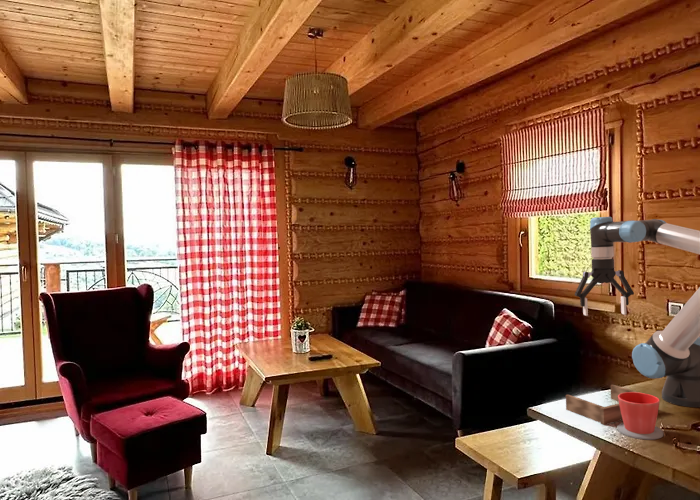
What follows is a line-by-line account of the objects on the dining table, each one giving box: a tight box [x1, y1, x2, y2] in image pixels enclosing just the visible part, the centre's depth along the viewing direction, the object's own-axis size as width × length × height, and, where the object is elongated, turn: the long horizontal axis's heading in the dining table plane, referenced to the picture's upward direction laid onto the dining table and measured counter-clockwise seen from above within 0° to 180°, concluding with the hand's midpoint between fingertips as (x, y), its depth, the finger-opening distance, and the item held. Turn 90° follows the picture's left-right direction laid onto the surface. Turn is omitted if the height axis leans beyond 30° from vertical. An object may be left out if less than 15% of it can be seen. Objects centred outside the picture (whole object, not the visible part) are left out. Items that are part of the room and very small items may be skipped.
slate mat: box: [616, 422, 664, 441], centre depth 151 cm, size 12×12×1 cm
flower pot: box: [617, 391, 661, 434], centre depth 150 cm, size 11×11×10 cm
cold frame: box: [565, 384, 654, 426], centre depth 169 cm, size 16×24×5 cm, turn 113°
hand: (604, 314), depth 188 cm, fingers open, 13 cm apart
